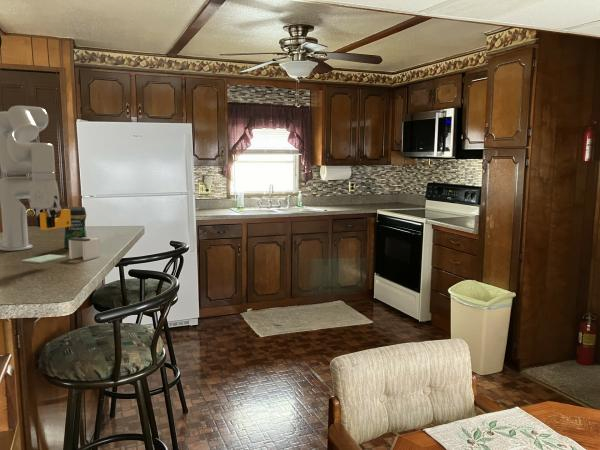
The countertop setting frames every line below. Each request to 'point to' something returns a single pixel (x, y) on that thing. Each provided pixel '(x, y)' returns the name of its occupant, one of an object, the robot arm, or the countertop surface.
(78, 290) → the countertop surface
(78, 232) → the coffee jar
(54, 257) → the mat
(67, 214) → the orange branched block
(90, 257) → the hollow square frame
